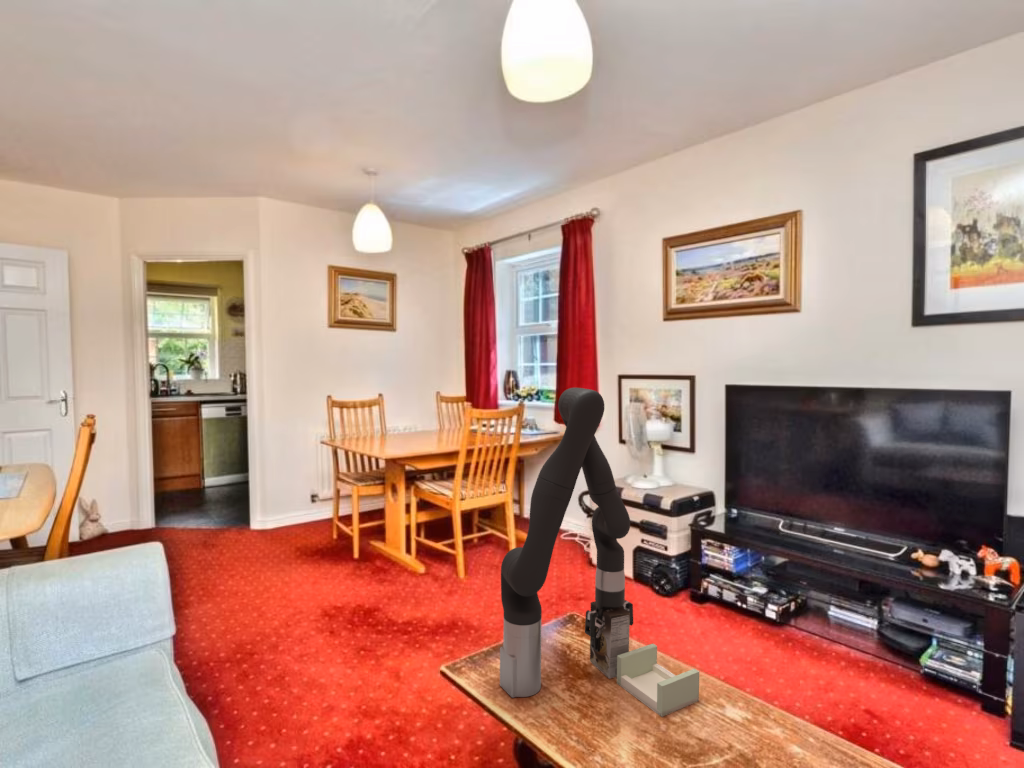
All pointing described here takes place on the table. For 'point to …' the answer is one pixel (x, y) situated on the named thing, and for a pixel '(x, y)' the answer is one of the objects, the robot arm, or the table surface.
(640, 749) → the table surface
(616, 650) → the coffee box
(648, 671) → the caddy
